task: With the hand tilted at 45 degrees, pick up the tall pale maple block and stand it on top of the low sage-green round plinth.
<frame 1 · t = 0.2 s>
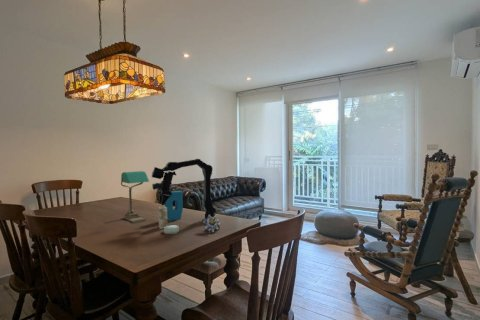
hand: (161, 203, 177), 15 cm above the table, tool tilted 15°, fingers open, 9 cm apart
banker's lamp: (135, 219, 197), on the table
passion flower: (210, 230, 168), on the table
plinth: (171, 232, 166), on the table
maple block: (163, 227, 176), on the table
block: (174, 219, 196), on the table
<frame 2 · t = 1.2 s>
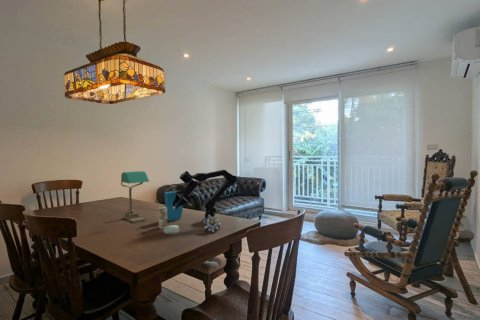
hand: (174, 205, 179), 13 cm above the table, tool tilted 45°, fingers open, 9 cm apart
nothing on the table moved.
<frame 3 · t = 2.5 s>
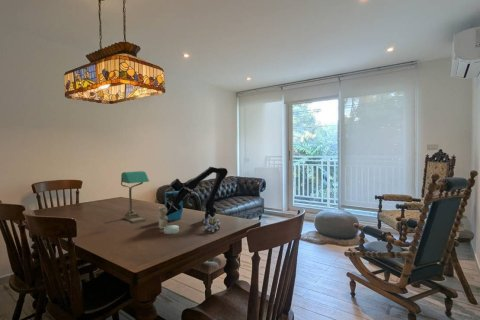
hand: (164, 214, 176), 9 cm above the table, tool tilted 45°, fingers open, 9 cm apart
nothing on the table moved.
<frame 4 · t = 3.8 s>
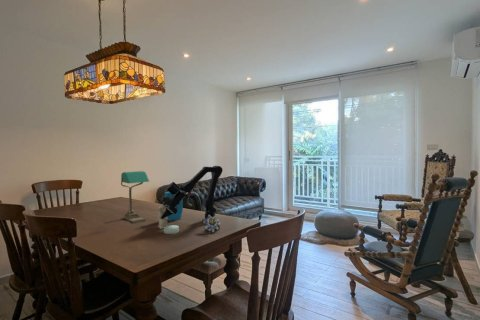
hand: (160, 217, 175), 7 cm above the table, tool tilted 45°, fingers closed on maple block, 5 cm apart
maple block: (163, 227, 176), on the table, touching gripper
everything else where it was.
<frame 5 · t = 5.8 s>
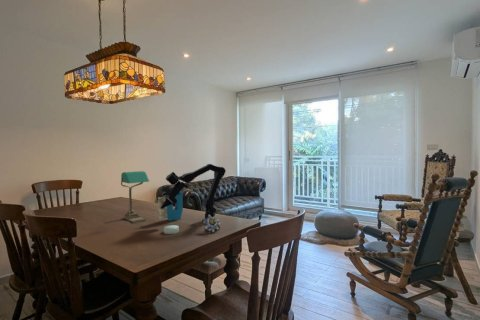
hand: (160, 207, 175), 13 cm above the table, tool tilted 45°, fingers closed on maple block, 5 cm apart
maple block: (162, 217, 176), point 7 cm above the table, touching gripper
everything else where it was.
when the fingers open (11 cm above the table, at t = 8.1 s): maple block drops 2 cm, resting on plinth.
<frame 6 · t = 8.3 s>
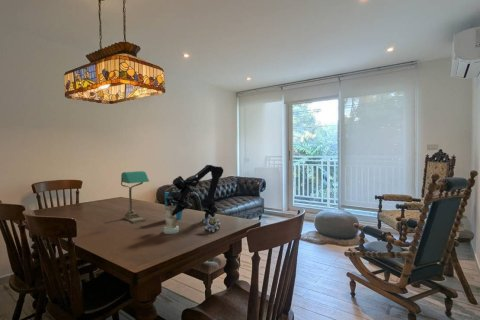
hand: (169, 214, 165), 11 cm above the table, tool tilted 45°, fingers open, 7 cm apart
plinth: (171, 232, 166), on the table, touching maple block
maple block: (171, 227, 166), point 3 cm above the table, touching plinth
everything else where it was.
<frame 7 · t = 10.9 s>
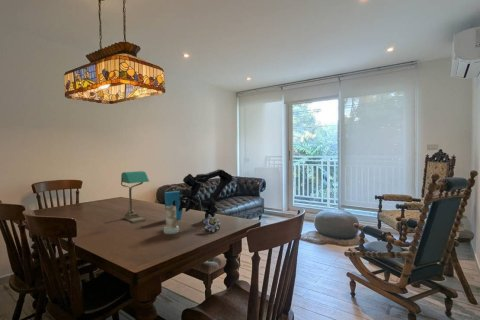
hand: (182, 211, 173), 11 cm above the table, tool tilted 40°, fingers open, 9 cm apart
nothing on the table moved.
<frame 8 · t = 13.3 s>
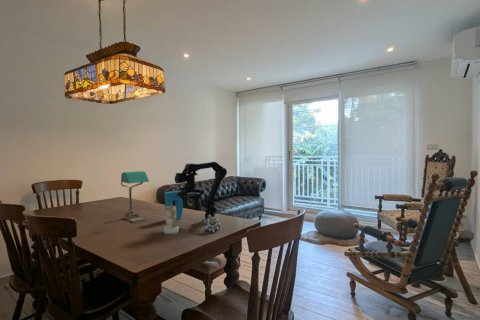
hand: (191, 205, 182), 13 cm above the table, tool pointing down, fingers open, 9 cm apart
nothing on the table moved.
at the end: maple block 0.1 cm from the plinth (horizontally); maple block point 2.7 cm above the table; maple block tilted 0° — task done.
